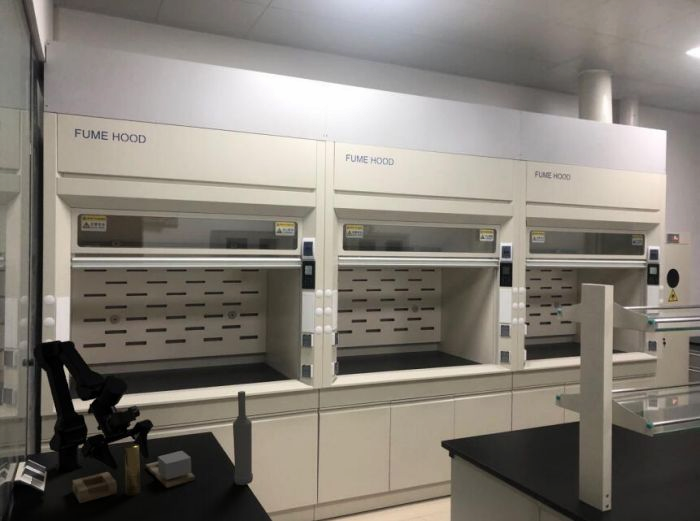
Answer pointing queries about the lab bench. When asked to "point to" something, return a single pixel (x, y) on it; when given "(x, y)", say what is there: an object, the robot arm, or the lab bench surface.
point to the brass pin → (132, 469)
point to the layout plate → (170, 482)
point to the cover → (174, 465)
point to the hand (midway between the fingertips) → (132, 463)
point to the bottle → (242, 444)
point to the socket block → (94, 487)
